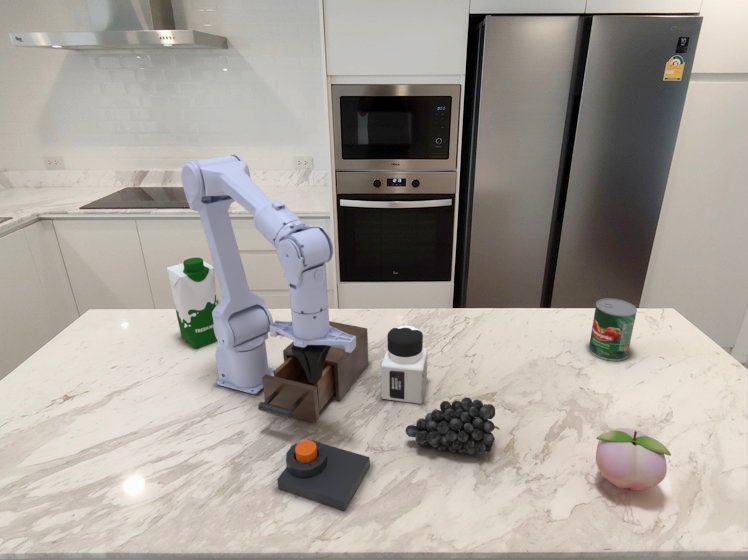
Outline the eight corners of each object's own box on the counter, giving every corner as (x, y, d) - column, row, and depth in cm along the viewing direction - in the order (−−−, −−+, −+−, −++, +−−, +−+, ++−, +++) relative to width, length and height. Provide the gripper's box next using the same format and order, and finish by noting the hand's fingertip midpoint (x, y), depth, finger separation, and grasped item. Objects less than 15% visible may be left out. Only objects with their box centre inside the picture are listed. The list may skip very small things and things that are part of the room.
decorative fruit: (649, 468, 74) (663, 416, 70) (665, 512, 67) (681, 456, 63) (584, 458, 76) (594, 407, 72) (593, 499, 69) (605, 445, 65)
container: (421, 404, 89) (423, 344, 84) (381, 399, 91) (380, 339, 86) (426, 380, 96) (428, 323, 91) (388, 376, 98) (388, 319, 93)
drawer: (302, 440, 79) (298, 407, 77) (250, 425, 83) (245, 393, 80) (347, 382, 94) (346, 353, 91) (301, 372, 98) (298, 343, 95)
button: (292, 460, 72) (291, 451, 72) (303, 446, 75) (302, 437, 74) (310, 466, 71) (309, 457, 71) (321, 452, 74) (320, 443, 73)
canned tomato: (630, 348, 106) (639, 303, 102) (624, 365, 100) (634, 318, 96) (592, 338, 110) (599, 295, 106) (584, 354, 104) (592, 309, 100)
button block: (275, 487, 72) (272, 469, 70) (305, 447, 79) (304, 430, 78) (344, 511, 68) (343, 493, 66) (369, 466, 75) (369, 448, 74)
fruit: (404, 407, 74) (503, 408, 73) (405, 390, 82) (494, 390, 81) (405, 461, 75) (502, 463, 74) (406, 439, 83) (494, 440, 82)
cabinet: (339, 401, 90) (337, 362, 87) (286, 388, 94) (282, 350, 91) (368, 363, 102) (367, 328, 98) (320, 353, 106) (317, 318, 103)
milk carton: (193, 352, 107) (177, 269, 99) (176, 337, 113) (160, 258, 105) (229, 337, 112) (217, 258, 105) (211, 324, 118) (198, 248, 111)
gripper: (254, 309, 73) (264, 383, 78) (340, 325, 68) (344, 404, 73) (280, 291, 79) (287, 361, 84) (360, 304, 74) (363, 378, 79)
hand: (315, 379), depth 79 cm, fingers closed
